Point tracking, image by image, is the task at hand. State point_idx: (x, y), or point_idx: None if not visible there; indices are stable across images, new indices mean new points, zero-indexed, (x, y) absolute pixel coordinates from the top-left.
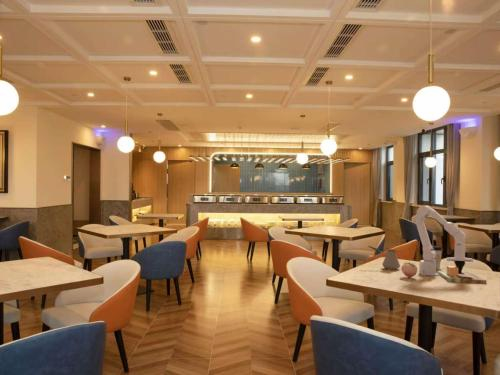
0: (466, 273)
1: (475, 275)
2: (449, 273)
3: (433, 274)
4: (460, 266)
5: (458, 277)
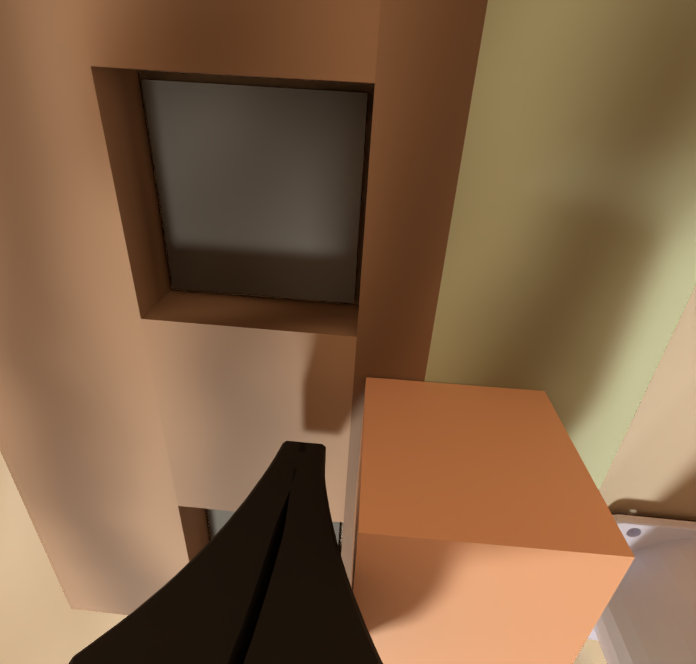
0: (148, 553)
1: (28, 446)
2: (559, 421)
3: (674, 544)
4: (271, 578)
5: (441, 216)
